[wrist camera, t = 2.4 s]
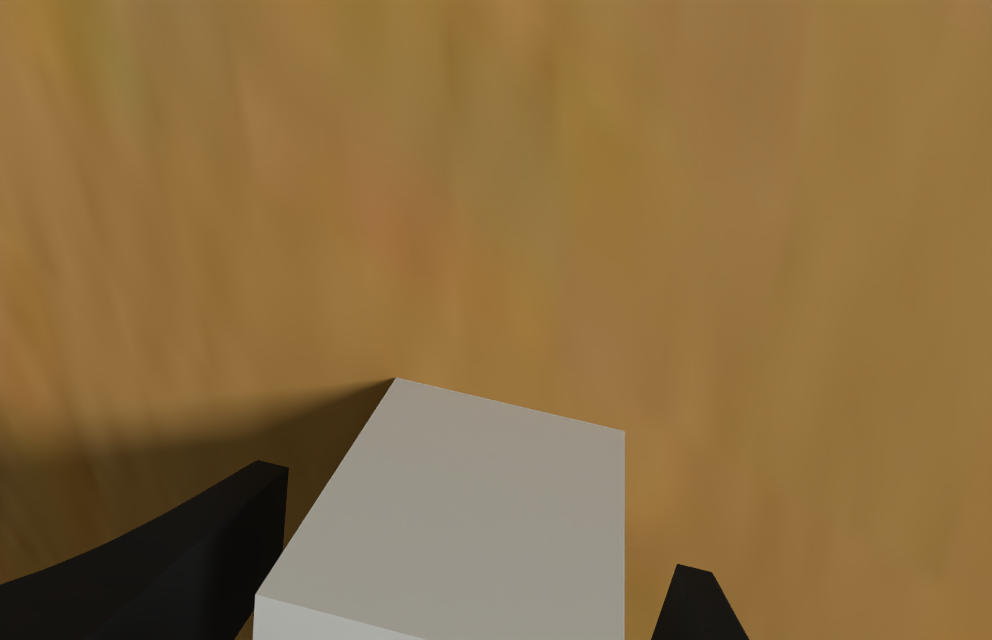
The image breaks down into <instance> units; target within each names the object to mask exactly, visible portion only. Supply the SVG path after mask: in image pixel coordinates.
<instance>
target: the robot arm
mask: <svg viewBox="0 0 992 640" xmlns="http://www.w3.org/2000/svg"><path fill="white" fill-rule="evenodd" d="M288 471H289V468H287V467H283V466H279V465H275V464H271V463H267V462H263V461H259V460H257V461H255V462H253V463H252V464H250V465H248V466H246V467H245V468H243V469H241V470H239V471H238V472H236V473H234V474H233V475H231V476H229V477H228V478H226V479H224V480H222V481H221V482H219V483H217V484H216V485H214V486H212V487H211V488H209V489H207V490H205V491H204V492H202V493H200V494H199V495H197V496H195V497H193V498H192V499H190V500H188V501H186V502H185V503H183V504H181V505H179V506H177V507H176V508H174V509H172V510H170V511H169V512H167V513H165V514H163V515H161V516H159V517H158V518H156V519H154V520H152V521H150V522H148V523H146V524H144V525H142V526H140V527H138V528H136V529H134V530H132V531H130V532H128V533H126V534H124V535H122V536H120V537H118V538H116V539H114V540H112V541H110V542H108V543H106V544H104V545H101V546H99V547H97V548H95V549H93V550H90V551H88V552H86V553H84V554H81V555H79V556H76V557H74V558H71V559H69V560H67V561H64V562H62V563H59V564H57V565H54V566H52V567H49V568H47V569H44V570H41V571H39V572H36V573H33V574H30V575H27V576H24V577H21V578H18V579H15V580H13V581H10V582H7V583H4V584H1V585H0V640H234V639H235V638H236V636H237V634H238V633H239V631H240V630H241V628H242V627H243V625H244V624H245V622H246V621H247V619H248V618H249V616H250V615H251V613H252V612H253V610H254V608H255V594H256V593H257V591H258V589H259V588H260V586H261V585H262V583H263V582H264V580H265V579H266V577H267V576H268V574H269V573H270V571H271V569H272V568H273V566H274V565H275V563H276V562H277V560H278V559H279V557H280V556H281V554H282V552H283V538H284V525H285V511H286V498H287V484H288ZM651 640H749V638H748V636H747V635H746V633H745V631H744V629H743V628H742V626H741V624H740V622H739V620H738V619H737V617H736V615H735V613H734V611H733V610H732V608H731V606H730V604H729V602H728V600H727V598H726V597H725V595H724V593H723V591H722V589H721V587H720V586H719V584H718V582H717V580H716V578H715V577H714V575H713V573H712V572H709V571H705V570H700V569H696V568H692V567H688V566H684V565H680V564H677V566H676V569H675V572H674V575H673V578H672V580H671V583H670V586H669V589H668V592H667V595H666V598H665V601H664V604H663V607H662V610H661V612H660V615H659V618H658V621H657V624H656V627H655V630H654V633H653V636H652V639H651Z"/></svg>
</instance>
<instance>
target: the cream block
mask: <svg viewBox="0 0 992 640" xmlns="http://www.w3.org/2000/svg"><path fill="white" fill-rule="evenodd" d="M624 614H625V431H622V430H618V429H614V428H609V427H605V426H601V425H597V424H592V423H588V422H584V421H580V420H575V419H571V418H567V417H563V416H558V415H554V414H550V413H546V412H541V411H537V410H533V409H528V408H524V407H520V406H516V405H511V404H507V403H503V402H499V401H494V400H490V399H486V398H482V397H477V396H473V395H469V394H465V393H460V392H456V391H452V390H448V389H443V388H439V387H435V386H431V385H426V384H422V383H418V382H413V381H409V380H405V379H401V378H396V379H395V380H394V382H393V383H392V385H391V386H390V388H389V389H388V391H387V392H386V394H385V395H384V397H383V399H382V400H381V402H380V403H379V405H378V406H377V408H376V409H375V411H374V412H373V414H372V415H371V417H370V419H369V420H368V422H367V423H366V425H365V426H364V428H363V429H362V431H361V432H360V434H359V435H358V437H357V439H356V440H355V442H354V443H353V445H352V446H351V448H350V449H349V451H348V452H347V454H346V456H345V457H344V459H343V460H342V462H341V463H340V465H339V466H338V468H337V469H336V471H335V472H334V474H333V476H332V477H331V479H330V480H329V482H328V483H327V485H326V486H325V488H324V489H323V491H322V492H321V494H320V496H319V497H318V499H317V500H316V502H315V503H314V505H313V506H312V508H311V509H310V511H309V512H308V514H307V516H306V517H305V519H304V520H303V522H302V523H301V525H300V526H299V528H298V529H297V531H296V532H295V534H294V536H293V537H292V539H291V540H290V542H289V543H288V545H287V546H286V548H285V549H284V551H283V553H282V554H281V556H280V557H279V559H278V560H277V562H276V563H275V565H274V566H273V568H272V569H271V571H270V573H269V574H268V576H267V577H266V579H265V580H264V582H263V583H262V585H261V586H260V588H259V589H258V591H257V593H256V594H255V608H254V625H253V640H624Z"/></svg>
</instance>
